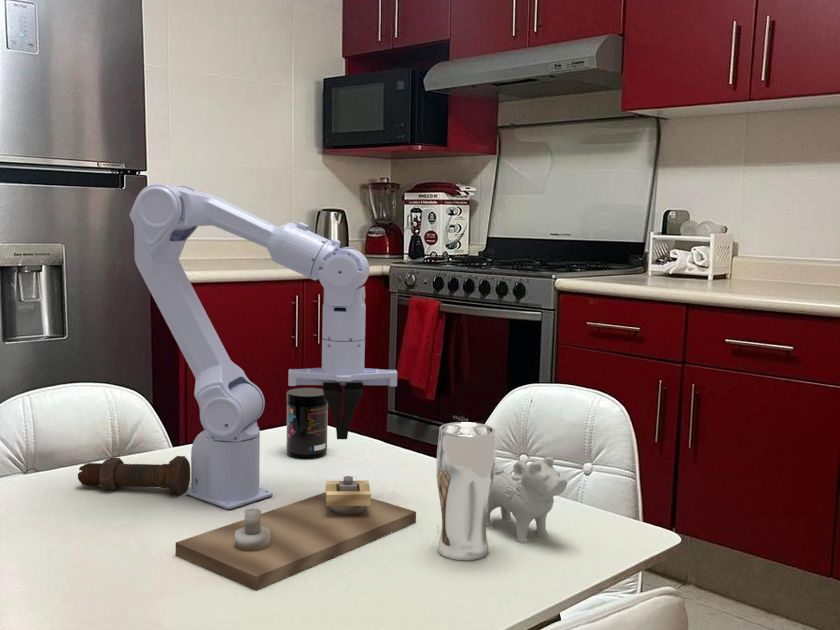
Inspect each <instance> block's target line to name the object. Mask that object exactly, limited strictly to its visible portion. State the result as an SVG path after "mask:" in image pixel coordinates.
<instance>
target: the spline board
mask: <svg viewBox="0 0 840 630" xmlns="http://www.w3.org/2000/svg"><path fill="white" fill-rule="evenodd" d="M338 481H339V491H357V482H356V481H357V480H354V476H350V475H345V476H343V480H338ZM413 523H414V524H416V523H417V511H415V510H412V509H408V508H405V507H403V506H399V505H396V504H392V503H390V502H386V501H382V500H379V499H377V498H372V497H371V506H326V491H325V492H322V493H320V494H319V493H318V494H316V495H313V496H309V497H307V498H304V499H301V500H298V501H295V502H292V503H289V504H286V505H283V506H280V507H278V508H277V507H276V508H274V509H271V510H268V511H266V512H262V511H261V509H259V508H247V509H246V510H245V511H244V519H241V520H239V521H236V522H233V523H230V524H227V525H224V526H220V527H218V528H214V529H212V530H211V529H210V530H209V531H206V532H202V533H200V534H197V535H193V536H191V537H188V538H185V539H182V540H179V541H176V542H175V556H177V557H179V558H182V559H184V560H186V561H189V562H191V563H193V564H196V565H197V566H200V567H202V568H205V569H207V570H209V571H212V572H214V573H216V574H218V575H220V576H223V577H225V578H228V579H230V580H232V581H234V582H237V583H239V584H241V585H244V586H246V587H247V588H250V589H252V590H255V591H258V590H260V589H263V588H265V587H267V586H269V585H272V584H275V583H277V582H279V581H282V580H284V579H286V578H289V577H291V576H294V575H296V574H298V573H301V572H303V571H305V570H308V569H310V568H312V567H315V566H317V565H319V564H321V563H323V562H327V561H329V560H331V559H333V558H336V557H338V556H341V555H343V554H346V553H348V552H350V551H352V549H353V550H355V549H357V548H359V546H360V547H362V546H364V545H366V543H367V542H369V543H371V542H370V541H372V540H374V541H376V540H378V539H377V538H379V539H381V538H383V537H385V536H384V535H386V536H388V535H390V534H392V533H391V532H393V533H395V532H397V531H399V530H398V529H400V530H402V529H404V528H403V527H405V526H407V527H409V526H411V524H412V525H414V524H413ZM408 525H409V526H408ZM401 528H402V529H401ZM405 528H406V527H405ZM396 530H397V531H396ZM394 531H395V532H394ZM389 533H390V534H389ZM387 534H388V535H387ZM382 536H383V537H382ZM380 537H381V538H380ZM375 539H376V540H375ZM372 542H373V541H372ZM363 544H364V545H363ZM367 544H368V543H367ZM361 545H362V546H361ZM354 548H355V549H354Z"/></svg>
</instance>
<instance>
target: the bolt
mask: <svg viewBox="0 0 840 630" xmlns="http://www.w3.org/2000/svg"><path fill="white" fill-rule="evenodd" d="M78 470H79V472H78V473H77V479H78V481H79V482H80V484H81V485H82V486H88V487H89V486H91V487H92V486H93V487H100V488H101V489H102V491H104V492H110V493H111V492H112V493H113V492H115V491H119V490H120V489H121V488H122V487H123V488H124V487H125V488H127V487H128V488H129V487H132V488H134V487H135V488H160V489H167V491H168V493H169V496H170V497H171V496H172V497H180V496H182V495H184V494H186V491H187V490H189V486H190V483H191V463H190V462H189V460H188V458H187V457H186V456H184V455H176V456H175V457H174V458H172V459H171V460H170V461H169V462H168V463H163V464H153V463H152V464H151V463H150V464H149V463H148V464H146V463H124V461H123V460H122V459H121V458H120V457H109V458H106V459H105V460H103V462H102V463H100V462H98V463H97V462H88V463H86V464H85V463H84V464H83V465H81V466H80V467H79V468H78Z"/></svg>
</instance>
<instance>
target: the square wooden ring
mask: <svg viewBox="0 0 840 630" xmlns="http://www.w3.org/2000/svg"><path fill="white" fill-rule="evenodd" d="M339 481H340V480H326V481H325V492H326V506H371V498H372V492H371V486H370V483H369V480H355V481H356V482H357V491H339Z"/></svg>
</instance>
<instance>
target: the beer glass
mask: <svg viewBox="0 0 840 630" xmlns="http://www.w3.org/2000/svg"><path fill="white" fill-rule="evenodd" d="M495 433H496V429H495V428H494V427H493V426H490V425H488V424H484V423H479V422H471V421H455V422H449V423H445V424H442V425H440V426H439V432H438V440H437V449H436V480H437V481H436V483H437V489H438V497H439V502H440V503H439V504H440V511H441V512H440V513H441V530H440V534H439V540H438V544H437V552H438V554H440V555H441V556H443V557H445V558H447V559H450V560H454V561H464V562H465V561H466V562H468V561H476V560H477V561H478V560H480V559H482V558H485V557H486V556H487V555H488V553H489V544H488V538H487V537H488V536H487V528H486V517H487V511H488V506H489V502H490V498H491V493H492V488H493V482H494V476H495V466H496V456H497V455H496V438H495V437H496V435H495Z"/></svg>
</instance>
